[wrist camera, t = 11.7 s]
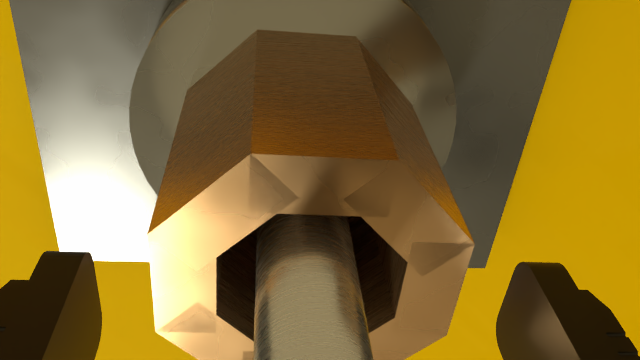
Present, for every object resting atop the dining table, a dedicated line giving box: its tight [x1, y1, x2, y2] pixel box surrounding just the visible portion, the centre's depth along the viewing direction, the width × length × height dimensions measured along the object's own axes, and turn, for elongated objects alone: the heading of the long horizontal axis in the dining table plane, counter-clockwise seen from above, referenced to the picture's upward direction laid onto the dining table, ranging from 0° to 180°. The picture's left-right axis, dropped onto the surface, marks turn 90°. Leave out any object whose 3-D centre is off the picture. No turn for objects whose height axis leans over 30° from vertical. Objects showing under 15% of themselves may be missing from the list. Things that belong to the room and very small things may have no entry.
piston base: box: [9, 0, 571, 360], centre depth 14 cm, size 16×14×14 cm
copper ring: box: [147, 29, 475, 360], centre depth 14 cm, size 6×6×6 cm
